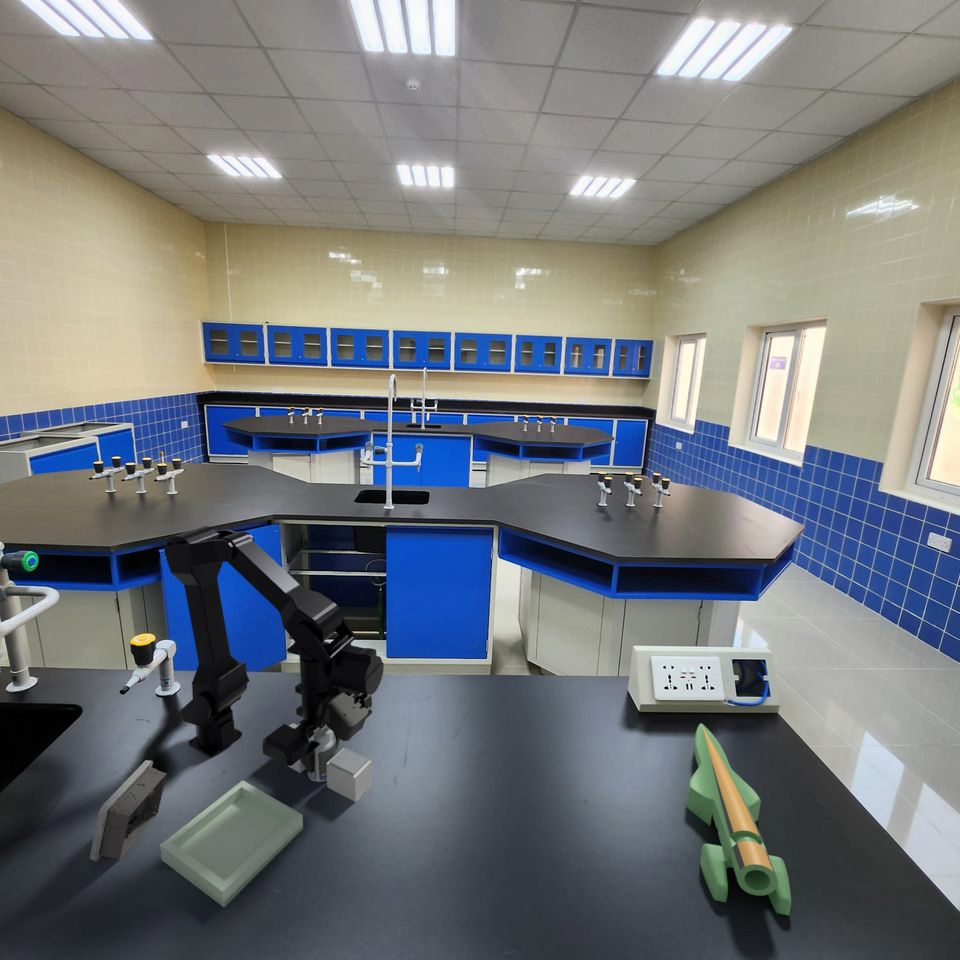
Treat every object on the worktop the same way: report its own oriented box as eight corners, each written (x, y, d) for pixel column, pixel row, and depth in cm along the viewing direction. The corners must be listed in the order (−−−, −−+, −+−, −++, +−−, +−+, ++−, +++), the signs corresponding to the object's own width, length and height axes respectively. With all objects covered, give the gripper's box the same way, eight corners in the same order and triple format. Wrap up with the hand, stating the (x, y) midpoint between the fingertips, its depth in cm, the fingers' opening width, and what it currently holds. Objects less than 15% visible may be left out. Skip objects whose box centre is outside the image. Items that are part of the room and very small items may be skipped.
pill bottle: (339, 761, 89) (338, 719, 87) (333, 783, 84) (331, 738, 82) (312, 761, 89) (310, 718, 87) (303, 782, 84) (302, 738, 82)
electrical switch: (138, 806, 79) (137, 755, 77) (170, 812, 78) (170, 761, 76) (88, 864, 69) (85, 807, 67) (125, 870, 69) (123, 814, 67)
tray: (161, 860, 70) (160, 845, 70) (243, 793, 82) (242, 780, 81) (224, 907, 64) (222, 891, 64) (303, 828, 76) (302, 814, 75)
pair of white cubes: (275, 759, 89) (273, 735, 88) (293, 745, 92) (292, 721, 91) (355, 802, 81) (355, 775, 80) (372, 784, 84) (371, 759, 83)
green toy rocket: (669, 736, 98) (673, 702, 97) (728, 745, 96) (733, 711, 95) (708, 902, 67) (715, 856, 66) (796, 920, 65) (805, 873, 64)
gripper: (312, 730, 71) (316, 824, 74) (394, 665, 87) (394, 744, 91) (257, 704, 76) (263, 793, 79) (344, 647, 92) (346, 723, 96)
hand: (322, 761), depth 86 cm, fingers closed on pill bottle, 5 cm apart
